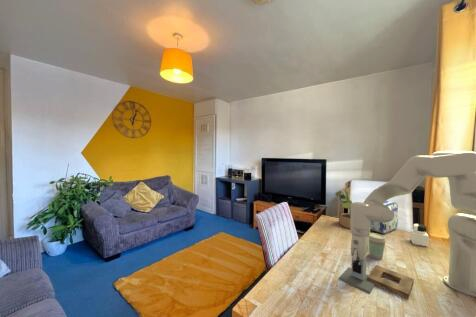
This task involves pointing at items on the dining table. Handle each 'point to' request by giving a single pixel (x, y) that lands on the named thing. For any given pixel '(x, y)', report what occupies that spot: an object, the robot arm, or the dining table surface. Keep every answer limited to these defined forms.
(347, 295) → the dining table surface
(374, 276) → the board
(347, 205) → the potted plant
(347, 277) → the coaster
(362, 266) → the slate block
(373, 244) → the coffee cup
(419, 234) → the salt and pepper set
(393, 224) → the lunch box
